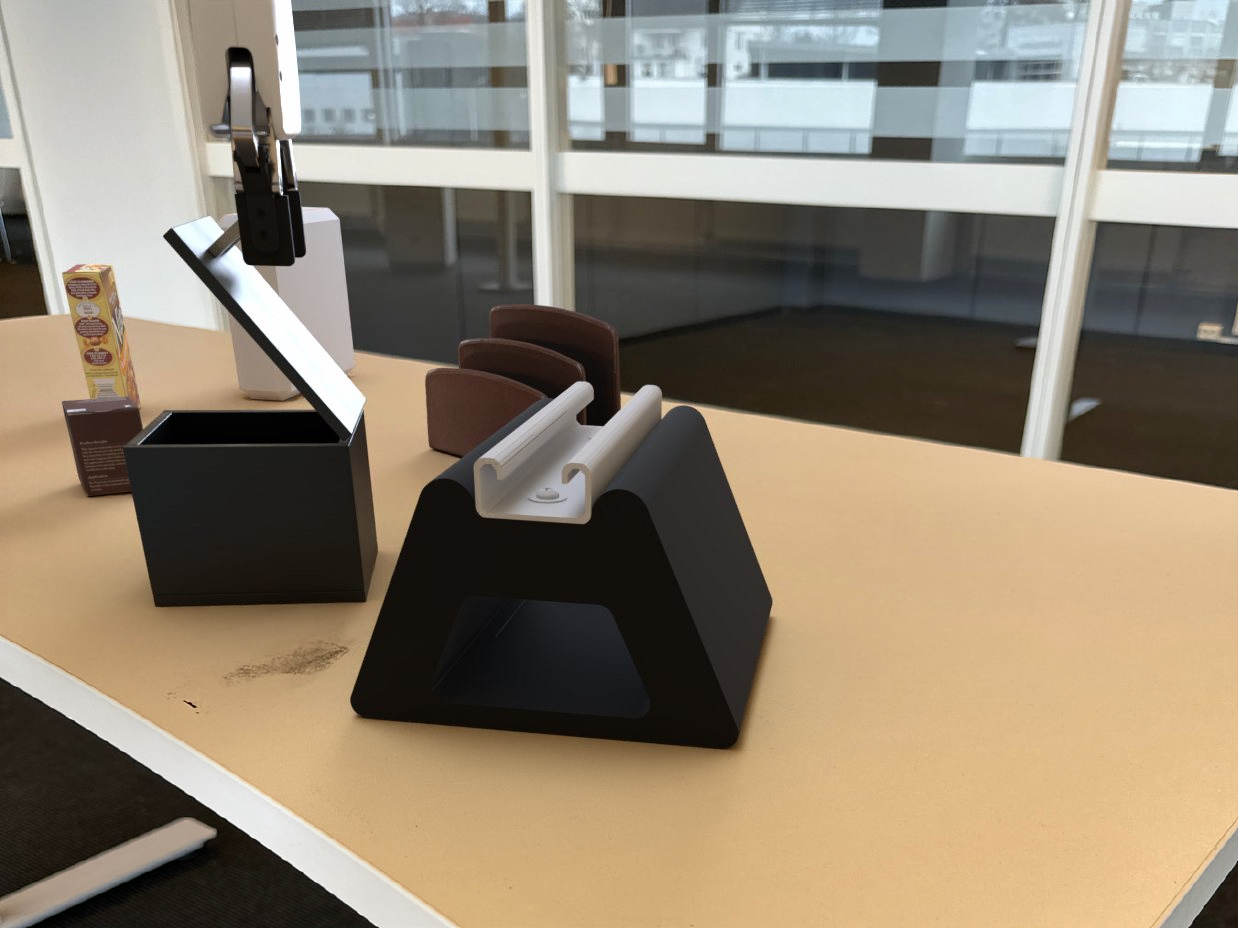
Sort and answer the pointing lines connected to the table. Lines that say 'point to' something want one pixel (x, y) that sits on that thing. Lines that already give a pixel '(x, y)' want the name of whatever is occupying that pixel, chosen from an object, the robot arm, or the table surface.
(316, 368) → the bin lid
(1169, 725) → the table surface
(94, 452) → the box
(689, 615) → the device stand
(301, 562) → the waste bin
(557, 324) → the letter holder
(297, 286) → the bevelled white case
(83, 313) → the candy box
